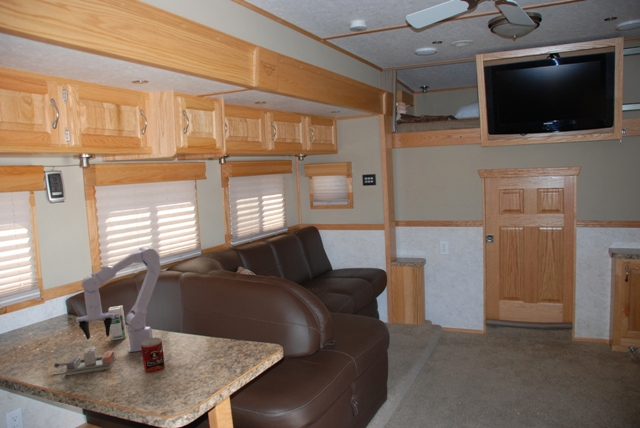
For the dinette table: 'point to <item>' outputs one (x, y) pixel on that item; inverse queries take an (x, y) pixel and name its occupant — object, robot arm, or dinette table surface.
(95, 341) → the dinette table surface
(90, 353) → the aluminium block
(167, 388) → the dinette table surface
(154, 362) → the canned food
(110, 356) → the block
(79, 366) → the vise base
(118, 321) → the syrup box
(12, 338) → the dinette table surface
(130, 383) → the dinette table surface
